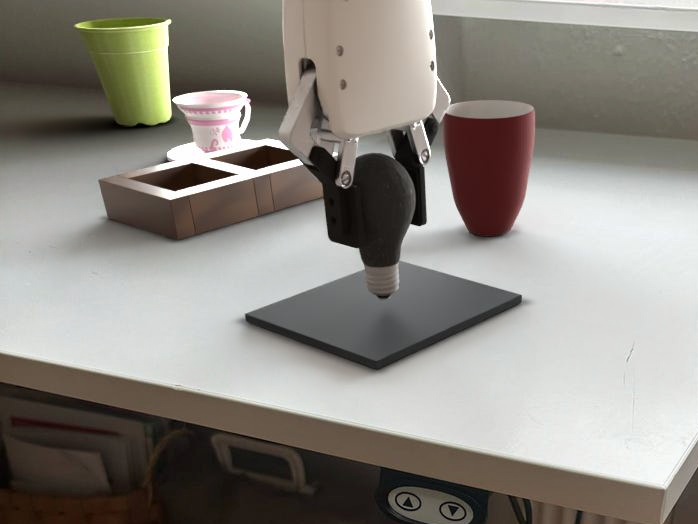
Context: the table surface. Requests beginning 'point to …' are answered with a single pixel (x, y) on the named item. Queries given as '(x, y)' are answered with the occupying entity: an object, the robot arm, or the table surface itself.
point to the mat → (383, 314)
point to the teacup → (212, 122)
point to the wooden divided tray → (210, 189)
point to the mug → (489, 161)
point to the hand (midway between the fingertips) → (378, 230)
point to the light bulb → (383, 218)
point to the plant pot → (131, 66)
